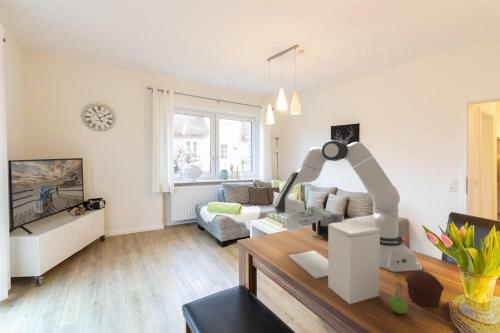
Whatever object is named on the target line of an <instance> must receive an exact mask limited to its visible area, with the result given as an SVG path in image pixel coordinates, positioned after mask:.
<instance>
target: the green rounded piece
mask: <svg viewBox="0 0 500 333" xmlns="http://www.w3.org/2000/svg"><path fill="white" fill-rule="evenodd" d="M395 286H396V287H395V295H392V296H391V297H390V298H389V300H388V305H389V308H390V309H391V310H392V312H394V313H396V314H397V315H404V314H406V313H407V312H408V309H409V306H408V303H407V301H406V299H405V298H404V297H402V292H403V291H402V290H403V285H402V283H401V282H400V281H397V282H396V284H395Z"/></svg>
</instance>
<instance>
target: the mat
mask: <svg viewBox="0 0 500 333" xmlns="http://www.w3.org/2000/svg"><path fill="white" fill-rule="evenodd" d="M288 257H289V258H290V259H291V260H292V261H294V262H295V263H296V264H297V265H299V266H300V267H301V268H302V269H303V270H305V271H306V272H307V273H308V274H309V275H311V276H312V277H313V278H315V280H316V279H321V278H324V277H325V278H326V277H328V258H327V257H324V256H323V255H321V254H320V253H319V252H317V251H316V250H310V251H304V252H299V253H293V254H288Z"/></svg>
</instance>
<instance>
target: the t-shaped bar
mask: <svg viewBox="0 0 500 333" xmlns="http://www.w3.org/2000/svg"><path fill="white" fill-rule="evenodd" d="M321 209H322V208H317V207H314V206H308V207H307V210H313V213H312V214H311V215H314V216H316V217H318V218H321V219H323V222H324V223H326V224H334V223H342V222H343V214H340V213H332V212H331V213H329V212H330V211H329V212H326V211H327V210H326V211H323V210H321Z"/></svg>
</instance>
